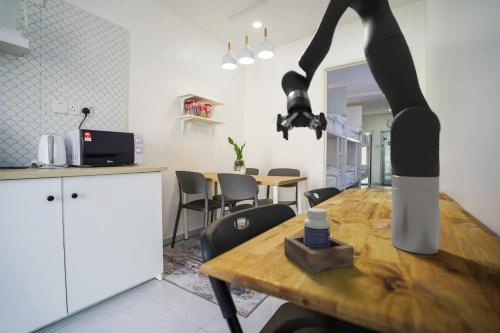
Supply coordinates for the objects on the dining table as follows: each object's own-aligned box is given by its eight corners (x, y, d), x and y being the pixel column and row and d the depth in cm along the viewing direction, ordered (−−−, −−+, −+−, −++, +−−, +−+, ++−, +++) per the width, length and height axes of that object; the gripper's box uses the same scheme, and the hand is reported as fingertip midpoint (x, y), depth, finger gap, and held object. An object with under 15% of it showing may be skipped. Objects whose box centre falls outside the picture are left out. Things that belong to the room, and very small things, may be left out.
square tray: (320, 247, 54) (320, 232, 54) (353, 264, 45) (353, 246, 45) (284, 253, 51) (284, 237, 51) (311, 273, 42) (311, 254, 41)
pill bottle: (333, 261, 45) (334, 212, 45) (306, 260, 46) (307, 212, 45) (325, 250, 51) (325, 207, 51) (301, 250, 51) (301, 207, 51)
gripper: (276, 96, 71) (276, 127, 60) (322, 94, 70) (332, 125, 58) (276, 117, 77) (276, 148, 65) (319, 115, 75) (327, 147, 64)
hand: (302, 137), depth 62 cm, fingers open, 8 cm apart
